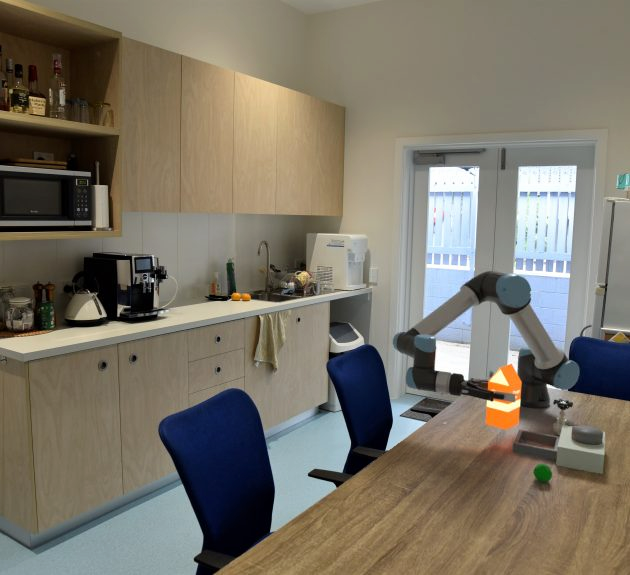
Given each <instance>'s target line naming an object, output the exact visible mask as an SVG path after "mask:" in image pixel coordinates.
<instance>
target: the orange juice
mask: <svg viewBox="0 0 630 575" xmlns="http://www.w3.org/2000/svg"><path fill="white" fill-rule="evenodd" d="M488 380H489V381H488V390H491V391H494V393H495V391H501V392H507V393H514V394H516V397H515V402H509V401H502V400H496V399H494V400H493V402H491V401H488V400H486V413H485V414H486V415H485V425H487V426H488V425H489V426H491V427H496V428H499V429H502V430H505V431H507V430H509V429H510V428H514V427H516V426H517V425H519V424H520V422H519V420H520V408H521V405H520V397H521V383H522V382H521V380H520V378H519V376H518V375H517V370H516V369H515V367H514V366H513V363H509V364H507V365H504V366H500V367H499V368H498V370H497V371H496V372H495V373H494V374H493V376H491V378H490V379H488Z"/></svg>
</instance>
